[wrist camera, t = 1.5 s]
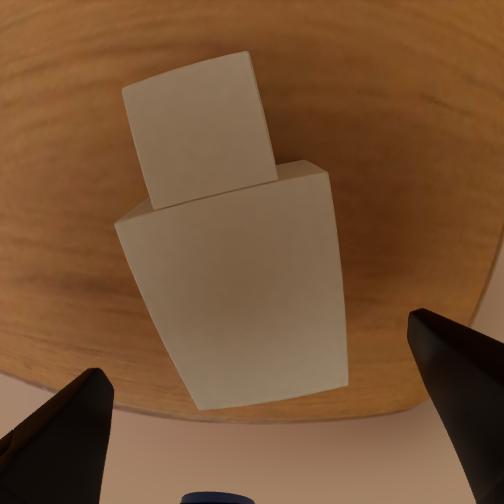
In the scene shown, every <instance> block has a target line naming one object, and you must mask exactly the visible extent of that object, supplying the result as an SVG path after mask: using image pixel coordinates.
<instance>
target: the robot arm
mask: <svg viewBox="0 0 504 504" xmlns="http://www.w3.org/2000/svg"><path fill="white" fill-rule="evenodd" d="M407 340H408V343H409V346H410V348H411V351H412V353H413V356H414V358H415V361H416V364H417V366H418V369H419V371H420V374H421V377H422V380H423V382H424V385H425V387H426V389H427V391H428V393H429V395H430V397H431V399H432V401H433V403H434V405H435V407H436V409H437V411H438V413H439V415H440V418H441V419H442V422H443V424H444V426H445V428H446V430H447V433H448V435H449V437H450V439H451V441H452V444H453V446H454V448H455V451H456V453H457V455H458V458H459V460H460V462H461V465H462V467H463V469H464V472H465V474H466V477H467V480H468V482H469V484H470V487H471V490H472V492H473V495H474V498H475V500H476V504H504V343H502V342H500V341H498V340H495V339H493V338H491V337H489V336H486V335H484V334H482V333H480V332H477V331H475V330H473V329H471V328H468V327H466V326H464V325H461V324H459V323H457V322H455V321H452V320H450V319H448V318H445V317H443V316H441V315H438V314H436V313H434V312H432V311H429V310H427V309H424V308H420V309H417V310H414V311H411V312H410V313H409V317H408V329H407ZM113 400H114V388H113V386H112V384H111V382H110V381H109V379H108V378H107V376H106V375H105V373H104V372H103V371H102V370H101V369H100V368H89V369H87V370H86V371H84V372H83V373H82V374H81V375H79V376H78V377H77V378H76V379H74V380H73V381H72V382H71V383H69V384H68V385H67V386H66V387H64V388H63V389H62V390H61V391H59V392H58V393H57V394H56V395H54V396H53V397H52V398H51V399H50V400H48V401H47V402H46V403H45V404H43V405H42V406H41V407H40V408H38V409H37V410H36V411H35V412H34V413H32V414H31V415H30V416H29V417H27V418H26V419H25V420H24V421H23V422H21V423H20V424H19V425H18V426H16V427H15V428H14V430H11V431H10V432H9V433H8V434H7V435H5V436H4V437H3V438H1V439H0V504H99V500H100V491H101V484H102V478H103V471H104V465H105V459H106V453H107V448H108V442H109V436H110V429H111V419H112V409H113ZM180 504H240V503H180Z"/></svg>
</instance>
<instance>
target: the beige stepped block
mask: <svg viewBox="0 0 504 504" xmlns="http://www.w3.org/2000/svg"><path fill="white" fill-rule="evenodd" d="M122 95H123V99H124V104H125V108H126V112H127V116H128V120H129V124H130V128H131V132H132V136H133V140H134V144H135V148H136V151H137V155H138V159H139V162H140V166H141V169H142V173H143V176H144V180H145V183H146V187H147V190H148V193H149V197H147V198H146V199H144V200H143V201H142V202H141V203H139V204H138V205H137V206H135V207H134V208H133V209H131V210H130V211H129V212H128V213H126V214H125V215H124V216H123V217H121V218H120V219H119V220H118V221H116V222H115V223H114V226H115V229H116V232H117V234H118V237H119V240H120V243H121V245H122V248H123V251H124V253H125V256H126V258H127V261H128V264H129V266H130V269H131V271H132V274H133V276H134V279H135V281H136V283H137V286H138V288H139V291H140V293H141V295H142V298H143V300H144V302H145V304H146V307H147V309H148V311H149V313H150V316H151V318H152V320H153V322H154V324H155V327H156V329H157V331H158V333H159V335H160V337H161V339H162V341H163V343H164V345H165V347H166V349H167V351H168V353H169V355H170V357H171V359H172V361H173V363H174V365H175V367H176V369H177V371H178V373H179V375H180V377H181V379H182V380H183V382H184V384H185V386H186V388H187V390H188V391H189V393H190V395H191V397H192V399H193V400H194V402H195V404H196V406H197V407H198V409H199V410H200V411H201V410H212V409H222V408H231V407H239V406H246V405H253V404H260V403H266V402H272V401H278V400H284V399H289V398H294V397H299V396H304V395H309V394H314V393H318V392H323V391H327V390H331V389H335V388H339V387H343V386H347V385H348V384H349V374H348V348H347V330H346V315H345V302H344V290H343V279H342V269H341V260H340V251H339V243H338V235H337V227H336V220H335V213H334V206H333V199H332V192H331V186H330V180H329V174H328V172H326V171H325V170H323V169H321V168H319V167H318V166H316V165H314V164H312V163H311V162H309V161H307V160H299V161H294V162H289V163H284V164H279V165H276V164H275V159H274V154H273V150H272V145H271V141H270V137H269V132H268V128H267V123H266V119H265V115H264V111H263V106H262V102H261V98H260V94H259V90H258V86H257V82H256V78H255V74H254V70H253V66H252V62H251V58H250V54H249V52H248V51H243V52H239V53H234V54H229V55H225V56H221V57H217V58H213V59H209V60H205V61H201V62H198V63H194V64H191V65H187V66H184V67H180V68H177V69H174V70H171V71H168V72H165V73H162V74H159V75H156V76H153V77H150V78H147V79H145V80H142V81H139V82H137V83H134V84H131V85H129V86H126V87H124V88H122Z"/></svg>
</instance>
